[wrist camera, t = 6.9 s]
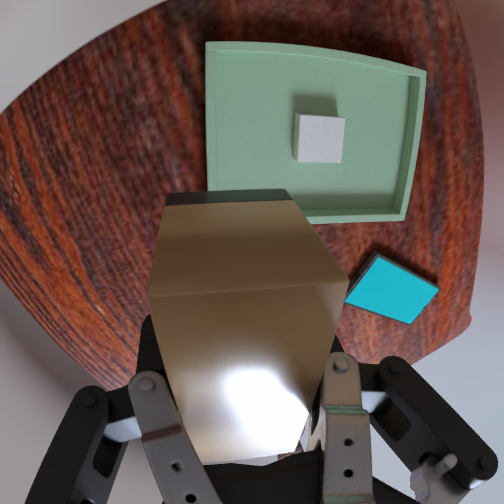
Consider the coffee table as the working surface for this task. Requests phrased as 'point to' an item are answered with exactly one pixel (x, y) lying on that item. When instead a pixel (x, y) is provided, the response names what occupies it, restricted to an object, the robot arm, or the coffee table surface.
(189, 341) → the eraser
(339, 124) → the chalk lump
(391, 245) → the coffee table surface
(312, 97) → the tray
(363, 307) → the smartphone
